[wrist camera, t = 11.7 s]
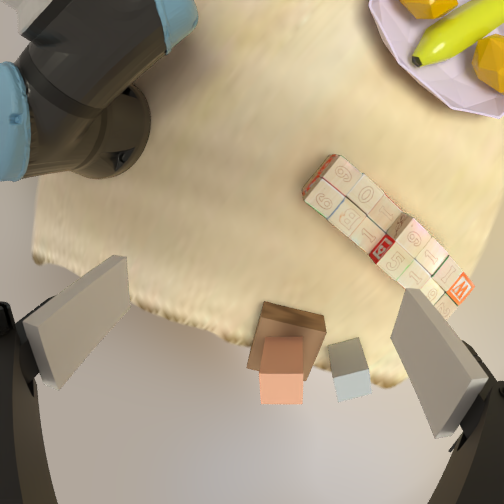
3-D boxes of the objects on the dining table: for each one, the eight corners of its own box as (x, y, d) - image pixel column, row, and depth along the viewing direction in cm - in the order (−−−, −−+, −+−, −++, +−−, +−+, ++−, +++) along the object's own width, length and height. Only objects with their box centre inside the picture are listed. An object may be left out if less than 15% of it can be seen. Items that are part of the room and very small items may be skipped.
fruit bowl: (409, 139, 35) (448, 135, 24) (330, -25, 29) (339, -68, 18) (533, 109, 29) (576, 106, 19) (467, -29, 23) (495, -55, 12)
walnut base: (250, 349, 47) (246, 368, 43) (264, 300, 45) (261, 317, 40) (305, 361, 47) (305, 381, 42) (323, 314, 44) (326, 332, 39)
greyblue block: (333, 369, 47) (338, 402, 39) (327, 345, 45) (332, 378, 38) (362, 361, 46) (371, 393, 38) (358, 337, 44) (368, 368, 37)
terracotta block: (266, 365, 42) (261, 403, 34) (265, 336, 41) (258, 373, 33) (302, 365, 41) (302, 404, 34) (302, 336, 40) (303, 373, 32)
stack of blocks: (299, 190, 39) (304, 204, 28) (329, 153, 37) (347, 151, 26) (408, 286, 41) (441, 327, 30) (435, 254, 39) (477, 287, 28)
